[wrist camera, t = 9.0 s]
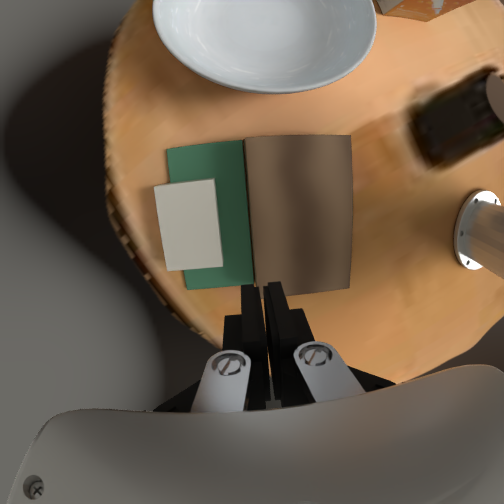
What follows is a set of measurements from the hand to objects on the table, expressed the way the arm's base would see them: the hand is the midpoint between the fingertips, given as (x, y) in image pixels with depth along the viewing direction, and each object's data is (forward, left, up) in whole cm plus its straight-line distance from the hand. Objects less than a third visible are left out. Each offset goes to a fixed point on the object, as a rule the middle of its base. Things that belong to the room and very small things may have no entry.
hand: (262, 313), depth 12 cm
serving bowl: (-4, -22, -20) cm, 30 cm away
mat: (+4, 0, -19) cm, 20 cm away
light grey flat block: (+6, 0, -17) cm, 18 cm away
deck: (-6, 0, -19) cm, 20 cm away
